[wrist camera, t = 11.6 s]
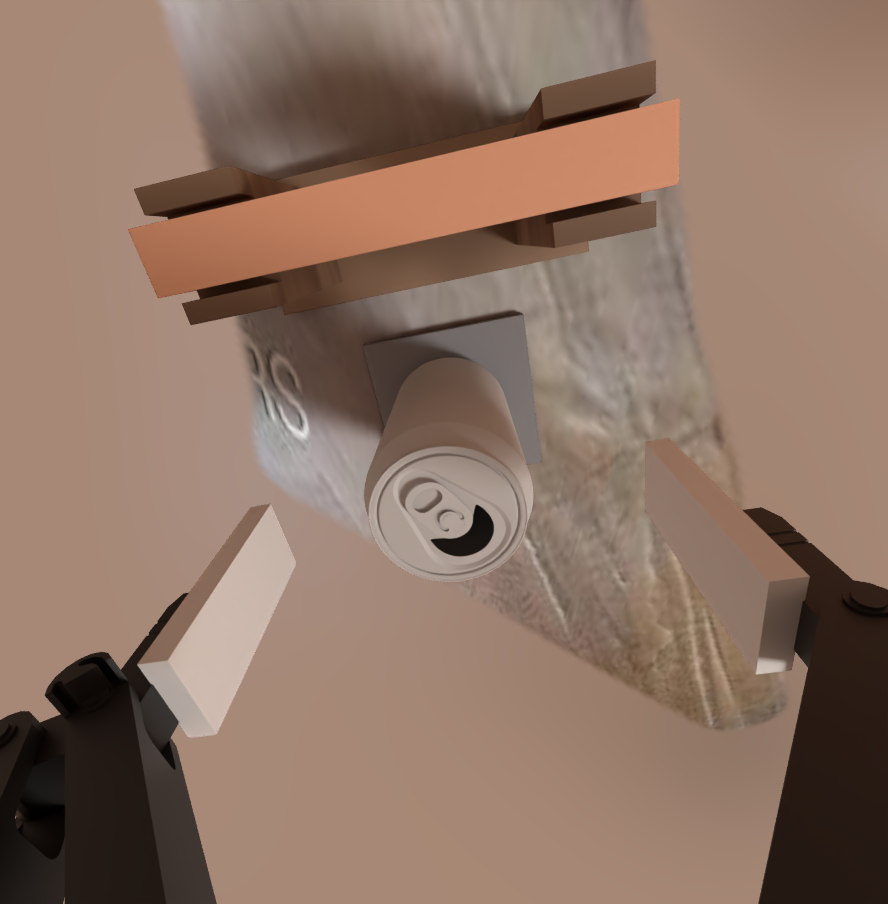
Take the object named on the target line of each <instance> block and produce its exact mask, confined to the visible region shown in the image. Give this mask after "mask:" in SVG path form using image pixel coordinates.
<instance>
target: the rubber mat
mask: <svg viewBox="0 0 888 904" xmlns="http://www.w3.org/2000/svg"><path fill="white" fill-rule="evenodd" d="M363 351H364V354H365V358H366V362H367V365H368V369H369V373H370V376H371V380H372V384H373V388H374V391H375V395H376V399H377V402H378V406H379V410H380V413H381V417H382V421H383V424H384V428H385V427H386V424H387V421H388V419H389V416H390V414H391V411H392V408H393V406H394V403H395V400H396V398H397V395H398V393H399V390H400V388H401V386H402V384H403V383H404V381H405V380H406V378H407V377H408V376H409V375H410V374H411V373H412V372H413V371H414V370H416V369H417V368H418V367H420V366H421V365H423V364H425V363H427V362H430V361H432V360H436V359H440V358H462V359H466V360H469V361H472V362H475V363H477V364H479V365H480V366H482V367H484V368H485V369H486V370H488V371H489V372H490V373H491V374H492V375H493V376H494V377H495V378H496V380H497V381H498V383H499V384H500V386H501V388H502V390H503V392H504V395H505V398H506V401H507V404H508V408H509V411H510V414H511V417H512V420H513V423H514V426H515V430H516V433H517V436H518V439H519V442H520V445H521V448H522V452H523V455H524V458H525V461H526V464H527V465H528V464H534V463H540V462H541V454H540V446H539V438H538V430H537V421H536V413H535V405H534V397H533V389H532V380H531V372H530V364H529V356H528V348H527V339H526V331H525V323H524V315H523V314H522V313H521V314H516V315H511V316H506V317H501V318H496V319H491V320H486V321H481V322H476V323H471V324H466V325H461V326H456V327H451V328H446V329H441V330H436V331H431V332H426V333H421V334H416V335H411V336H406V337H400V338H395V339H390V340H385V341H380V342H375V343H370V344H365V345H363Z"/></svg>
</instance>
